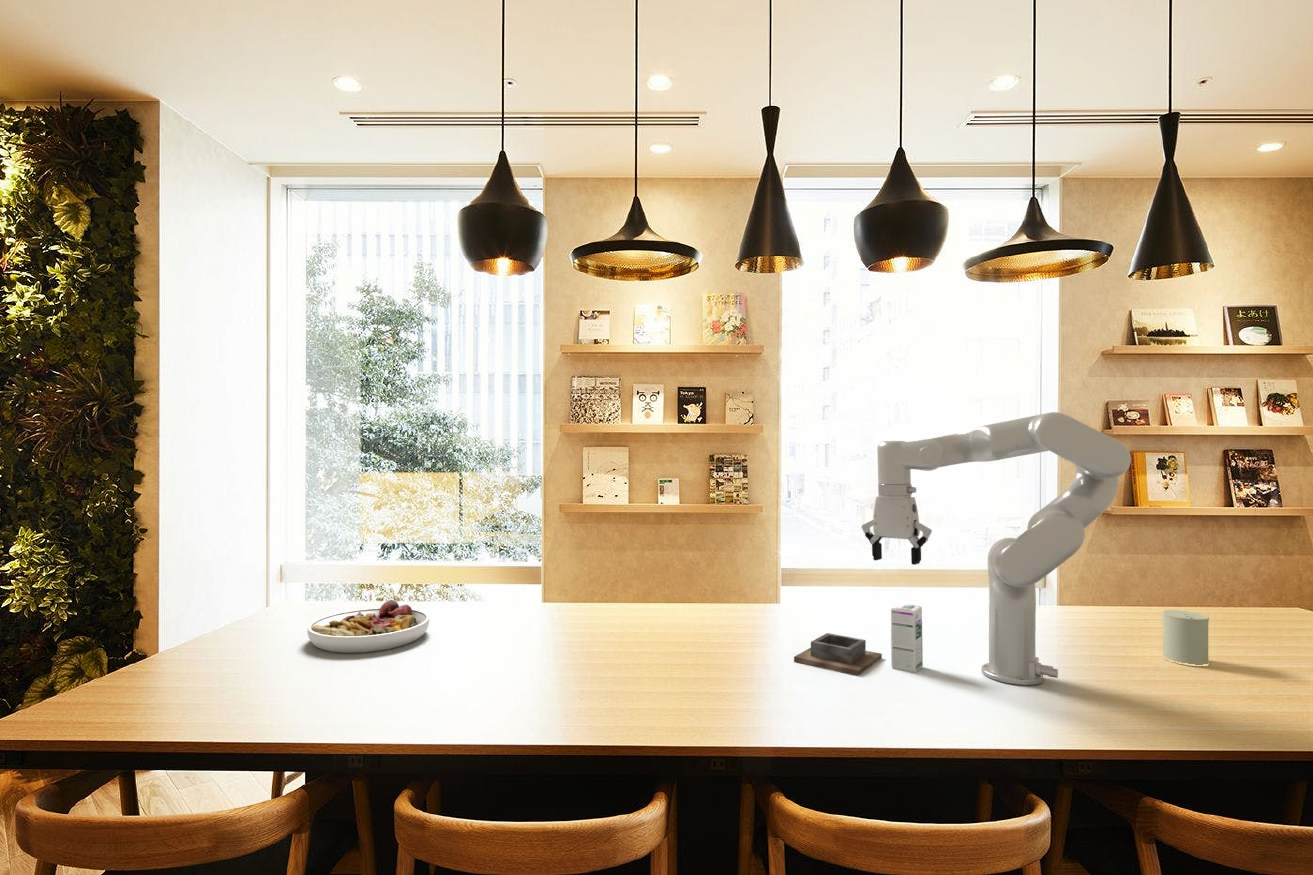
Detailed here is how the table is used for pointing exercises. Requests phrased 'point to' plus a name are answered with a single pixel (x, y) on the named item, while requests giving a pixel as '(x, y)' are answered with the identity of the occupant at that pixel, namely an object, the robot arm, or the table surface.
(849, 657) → the holder
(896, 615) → the syrup box
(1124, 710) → the table surface
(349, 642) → the bowl
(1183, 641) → the can
